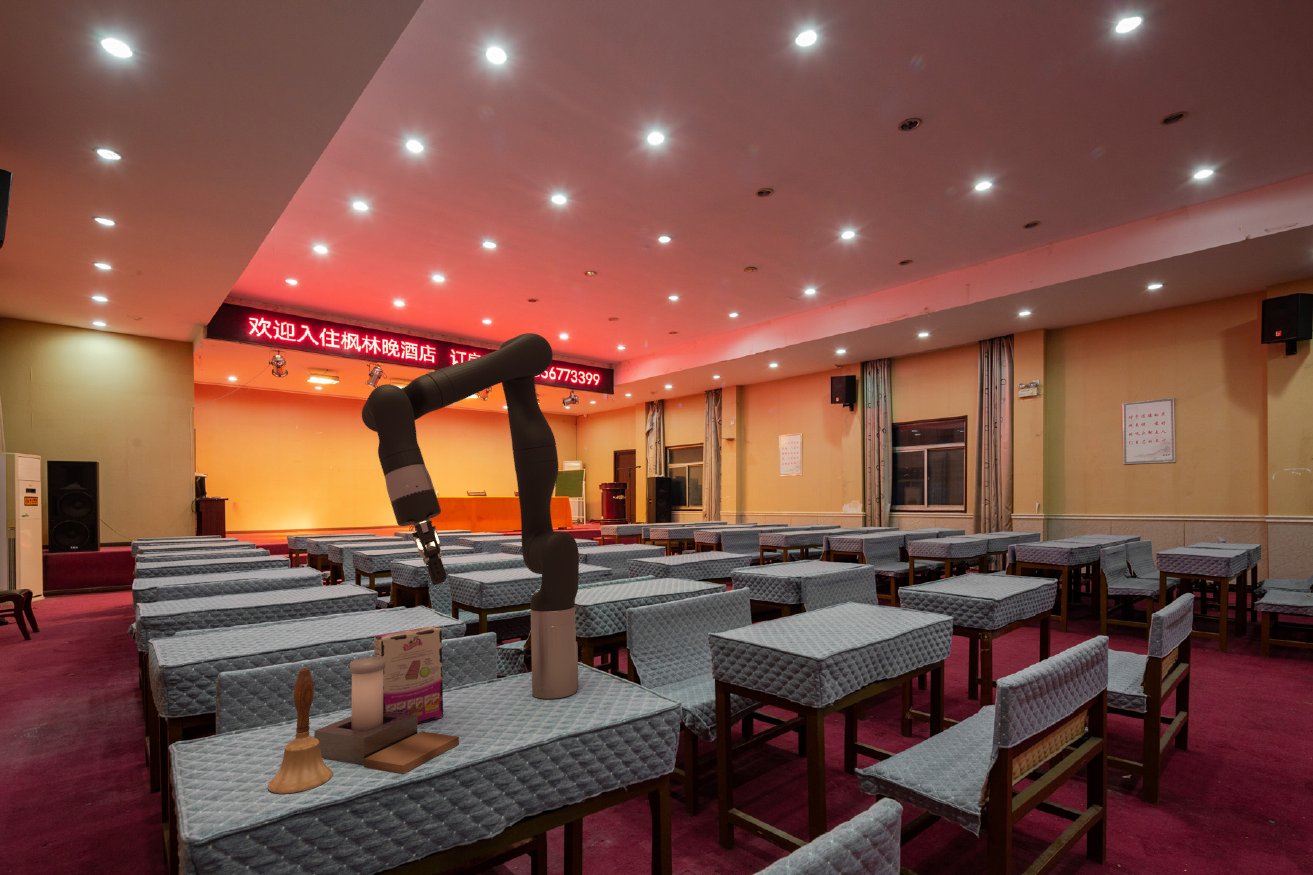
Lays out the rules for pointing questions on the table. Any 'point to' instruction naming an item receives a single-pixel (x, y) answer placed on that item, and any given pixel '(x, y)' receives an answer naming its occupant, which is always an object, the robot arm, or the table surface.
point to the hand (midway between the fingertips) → (439, 582)
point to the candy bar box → (412, 672)
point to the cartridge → (367, 693)
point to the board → (411, 752)
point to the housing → (364, 737)
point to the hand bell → (301, 747)
